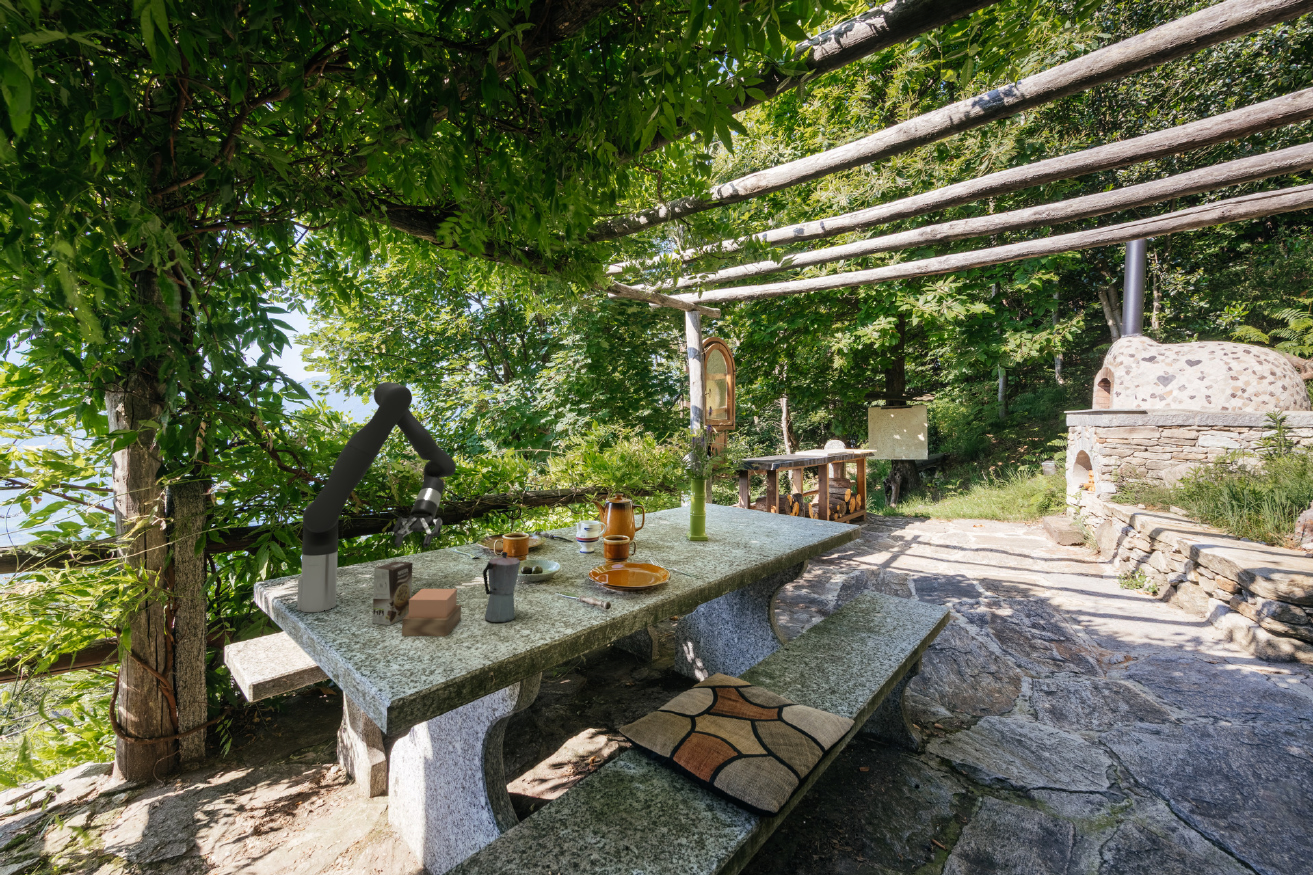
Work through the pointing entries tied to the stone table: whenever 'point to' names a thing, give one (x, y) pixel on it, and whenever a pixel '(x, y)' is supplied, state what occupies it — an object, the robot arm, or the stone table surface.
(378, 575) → the coffee box
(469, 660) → the stone table surface
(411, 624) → the tower base block
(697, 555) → the stone table surface
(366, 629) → the stone table surface
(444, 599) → the tower top block
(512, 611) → the moka pot
